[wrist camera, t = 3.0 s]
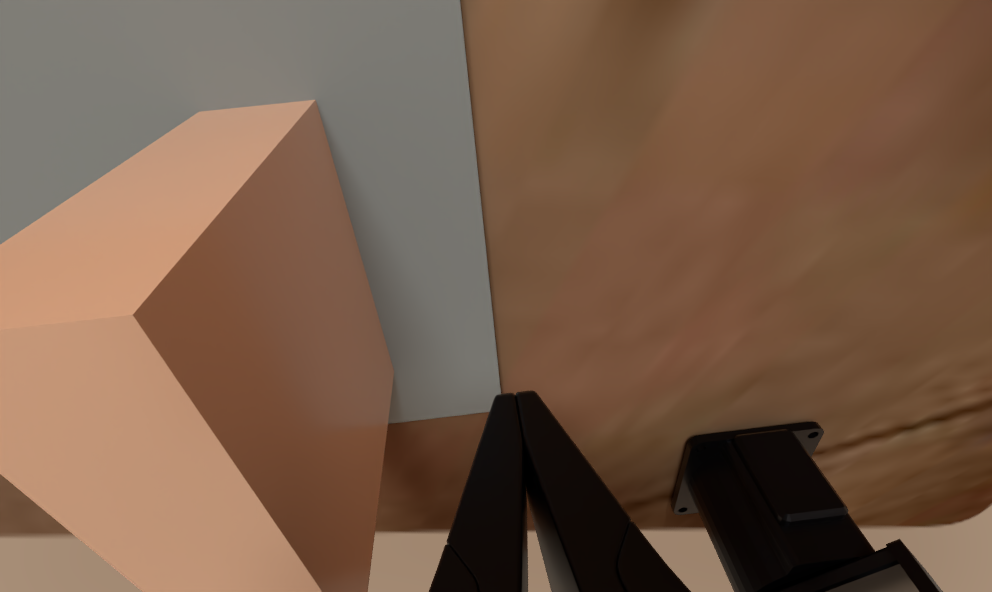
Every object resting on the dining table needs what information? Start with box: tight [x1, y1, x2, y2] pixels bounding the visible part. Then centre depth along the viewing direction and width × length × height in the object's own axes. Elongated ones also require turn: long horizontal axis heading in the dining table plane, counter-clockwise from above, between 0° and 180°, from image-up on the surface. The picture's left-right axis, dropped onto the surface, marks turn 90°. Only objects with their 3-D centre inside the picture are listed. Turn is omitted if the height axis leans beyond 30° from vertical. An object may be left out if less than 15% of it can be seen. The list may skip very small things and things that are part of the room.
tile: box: [0, 100, 394, 592], centre depth 12 cm, size 10×3×9 cm, turn 5°
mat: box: [0, 0, 501, 424], centre depth 15 cm, size 16×20×1 cm
